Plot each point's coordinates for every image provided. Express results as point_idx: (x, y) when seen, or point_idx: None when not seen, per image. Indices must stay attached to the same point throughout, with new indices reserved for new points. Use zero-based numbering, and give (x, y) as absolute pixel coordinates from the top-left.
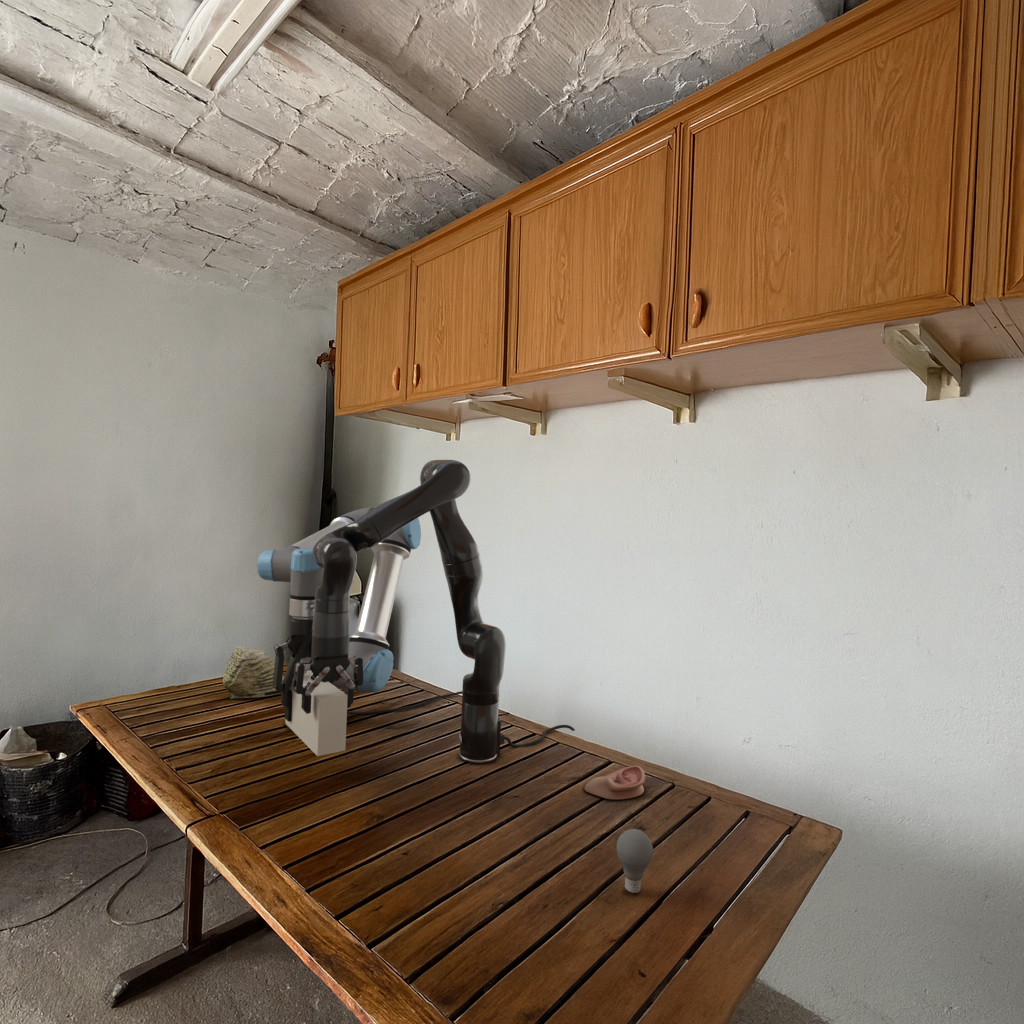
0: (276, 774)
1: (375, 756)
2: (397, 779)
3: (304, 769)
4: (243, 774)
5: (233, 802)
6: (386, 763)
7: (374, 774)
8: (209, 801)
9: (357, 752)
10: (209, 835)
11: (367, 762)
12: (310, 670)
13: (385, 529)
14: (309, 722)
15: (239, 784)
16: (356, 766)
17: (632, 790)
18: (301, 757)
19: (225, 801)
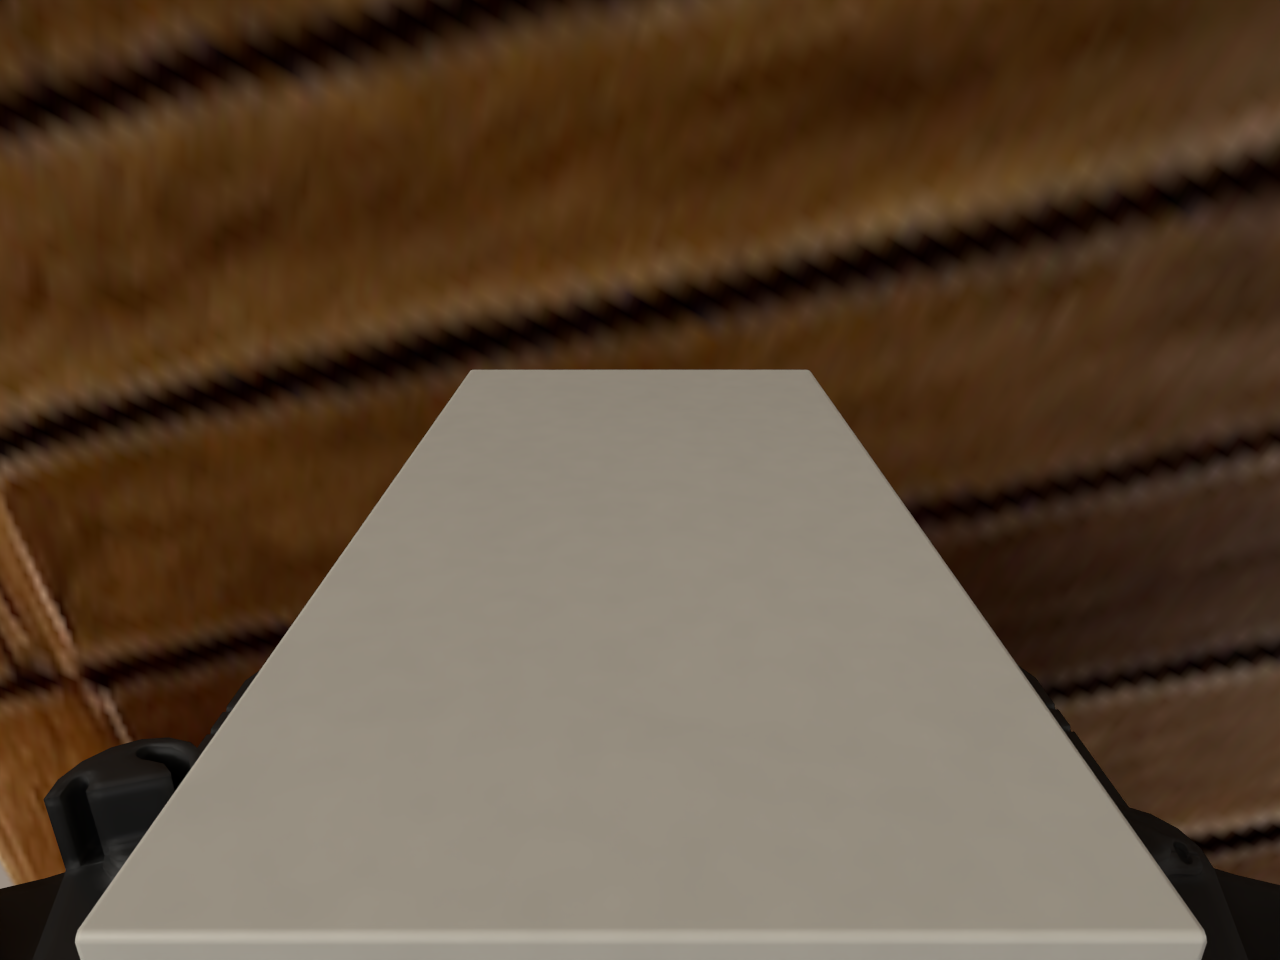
0: (470, 331)
1: (1237, 393)
2: (1111, 770)
3: (678, 350)
4: (239, 202)
5: (155, 593)
6: (1215, 544)
7: (1042, 653)
8: (13, 513)
9: (1178, 242)
10: (40, 846)
11: (1121, 464)
12: (1105, 951)
13: None
14: None
15: (201, 364)
16: (1017, 488)
17: None
18: (740, 95)
19: (109, 559)
